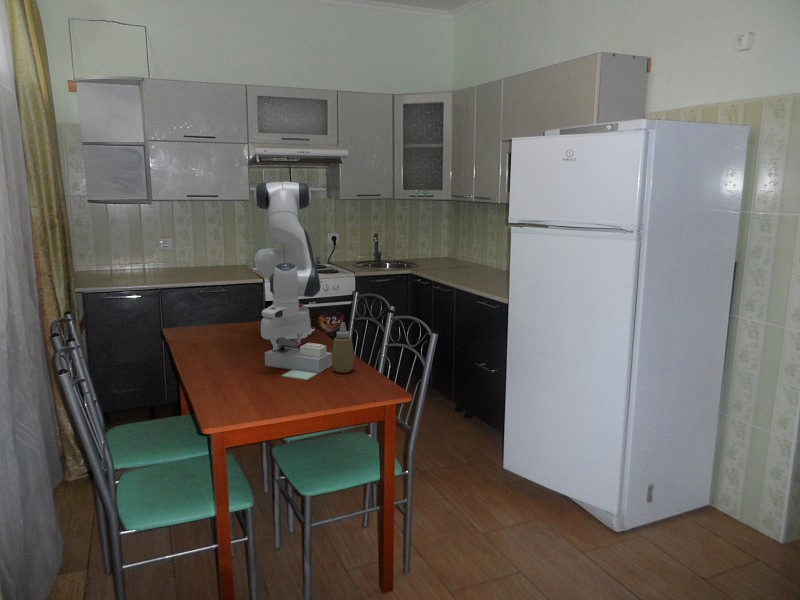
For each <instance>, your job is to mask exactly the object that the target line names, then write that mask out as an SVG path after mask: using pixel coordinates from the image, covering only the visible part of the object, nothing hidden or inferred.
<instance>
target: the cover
mask: <svg viewBox="0 0 800 600" xmlns="http://www.w3.org/2000/svg"><path fill="white" fill-rule="evenodd" d="M299 347H300V348H299V349H300V355H308V356H315V357H321V356H323V355H325V354H326V352H327V345H325V344H324V345H323V343H322V344H321V343H314V342H307V343H305V344H303V345H299Z"/></svg>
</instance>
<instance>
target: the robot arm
mask: <svg viewBox="0 0 800 600" xmlns="http://www.w3.org/2000/svg"><path fill="white" fill-rule="evenodd" d="M253 192H254V193H253V197H254V201H255V204H256V206H257V207H258V208H259V209H262V210H266V211H267V210H268V225H269V230H270V235H271V237H272V238H273V239H274V241H276V242H278V243H280V244H281V245H283V246H284V247H268V248H267V247H266V248H263V249H259V250H258V251H257V252H256V253H255V255H254V261H253V262H254V266H255V268H256V269H257V271H258V272H259V273H261V274H263V276H264V277H266V279H267V280H268V282H269V291H270V293H271V294H272V304H271V305H269V306H268V307H267V308H264V309H262V311H261V316H262V317H263V318H262V319H261V321H260V336H261V338H262V339H265V340H269V341H270V342H271V344H272V348H273V349H274V350H278V349H279V344H278V338H280V337H284V338H285V339H288V340H293V341H296V342H299V346H301V340H302V339H307V337H309V336H310V335H311V334H313V333H314V332H316V331H315V328H313V329H312V327H311V326H312V324H311V317H310V309H309V307H306V306H305V305H304V303H300V299H299V297H309V298H314V297H315V296H316V295H317V294H319V293H320V291H321V287H322V286H321V285H322V283H321V277H320V275H319V271H318V269H317V268H318V267H317V264H316V257H315V254H314V251H313V248H312V243H311V242H312V241H311V239H310V236H309V233H308V231H307V230H306V229H305V228H303V227H302V226H301V224H300V221H299V212H298V211H299V210H303V209H306V208H307V207H308V206H310V202H311V199H312V192H311V190H310V188H309V185H308V184H307V183H305V182H302V181H298V182H295V181H294V182H293V181H272V182H261V183H258V184H257V185H256V186H255V189H254V191H253ZM298 209H299V210H298ZM313 331H314V332H313ZM312 332H313V333H312ZM308 335H309V336H308Z"/></svg>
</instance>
